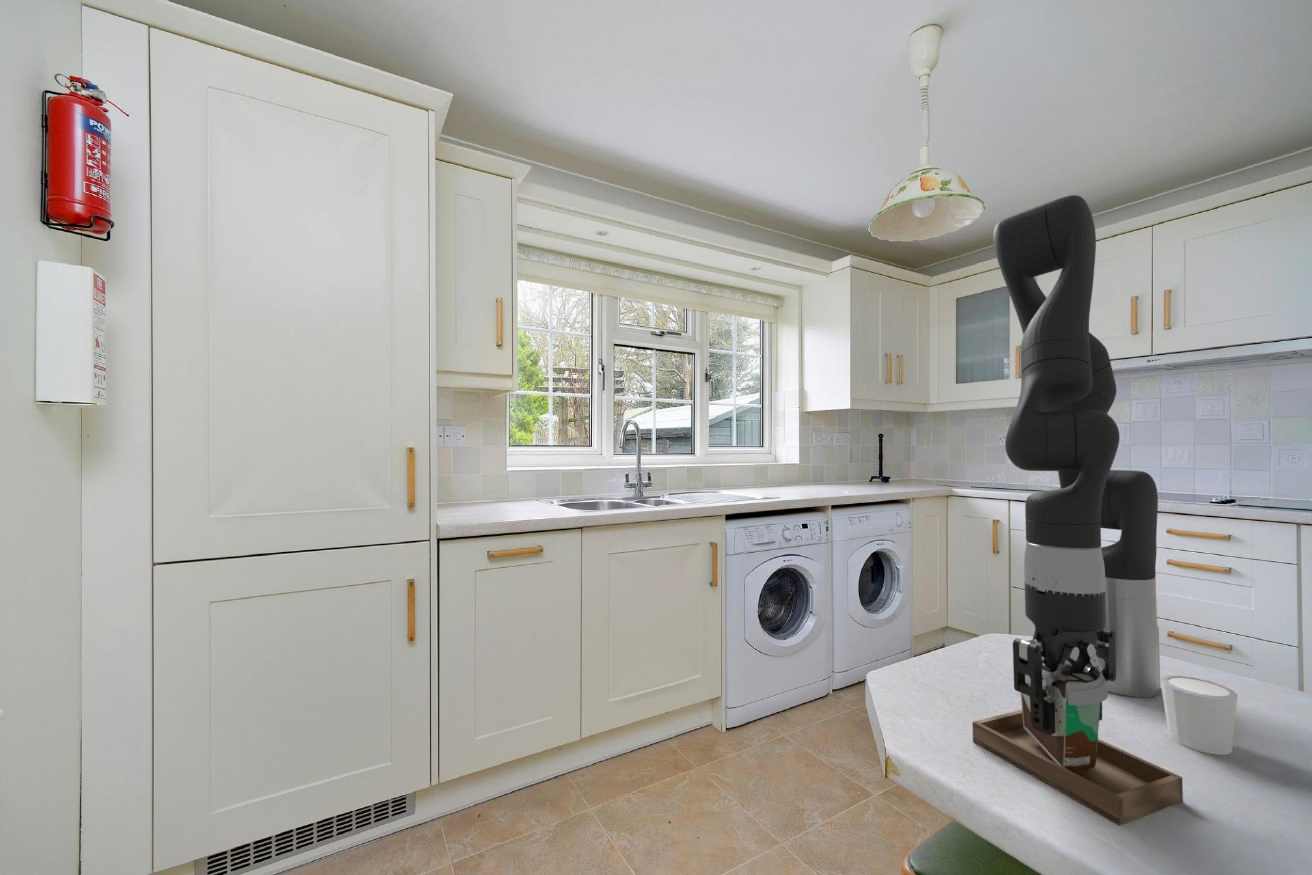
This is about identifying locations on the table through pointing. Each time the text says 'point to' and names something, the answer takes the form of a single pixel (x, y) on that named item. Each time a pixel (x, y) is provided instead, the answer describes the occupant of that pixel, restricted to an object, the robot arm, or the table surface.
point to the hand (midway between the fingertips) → (1067, 724)
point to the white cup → (1199, 713)
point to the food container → (1071, 719)
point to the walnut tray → (1085, 772)
